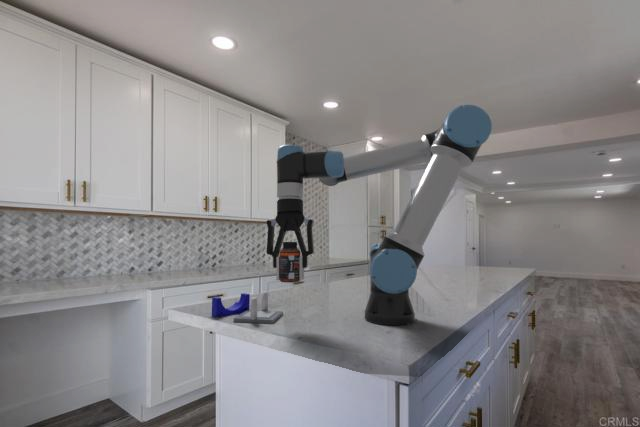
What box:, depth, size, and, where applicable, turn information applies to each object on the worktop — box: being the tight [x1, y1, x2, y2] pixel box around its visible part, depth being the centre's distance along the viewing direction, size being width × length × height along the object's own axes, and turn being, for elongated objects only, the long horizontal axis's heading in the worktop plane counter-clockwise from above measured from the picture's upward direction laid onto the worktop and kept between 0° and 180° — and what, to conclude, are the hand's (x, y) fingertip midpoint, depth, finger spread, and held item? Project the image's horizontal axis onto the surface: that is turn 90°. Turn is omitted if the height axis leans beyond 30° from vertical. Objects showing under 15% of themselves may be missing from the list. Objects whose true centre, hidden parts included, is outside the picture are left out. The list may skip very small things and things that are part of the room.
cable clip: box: [211, 292, 251, 318], centre depth 113 cm, size 12×4×6 cm, turn 135°
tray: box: [233, 291, 284, 324], centre depth 107 cm, size 12×13×7 cm
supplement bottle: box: [279, 241, 301, 283], centre depth 98 cm, size 6×6×11 cm
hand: (290, 279), depth 98 cm, fingers closed on supplement bottle, 6 cm apart
